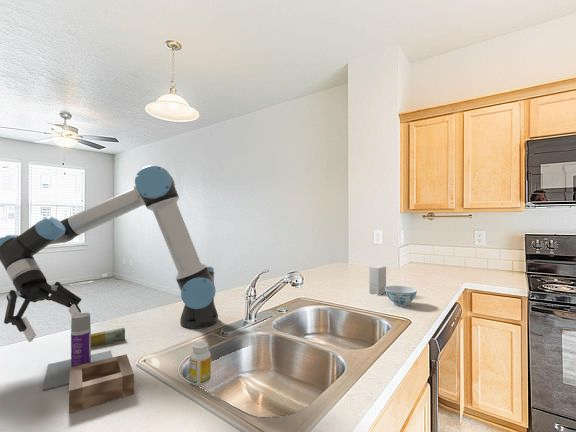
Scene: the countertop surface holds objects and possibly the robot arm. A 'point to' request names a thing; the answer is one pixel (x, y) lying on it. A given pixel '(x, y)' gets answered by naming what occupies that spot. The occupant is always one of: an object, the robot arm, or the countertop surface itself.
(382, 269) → the skincare box
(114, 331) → the medication box
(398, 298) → the chinaware
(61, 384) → the grey mat
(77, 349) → the container
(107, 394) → the walnut box
